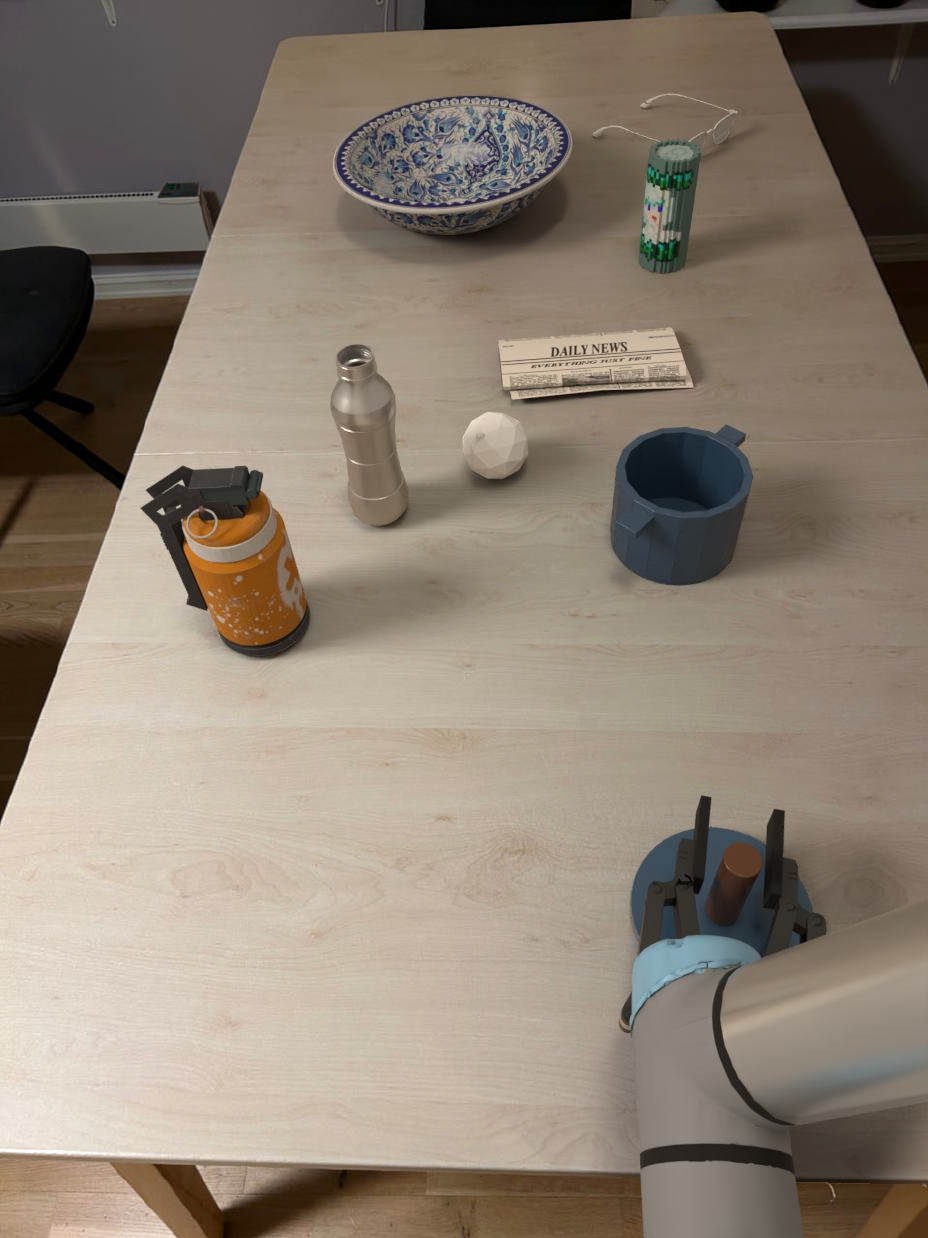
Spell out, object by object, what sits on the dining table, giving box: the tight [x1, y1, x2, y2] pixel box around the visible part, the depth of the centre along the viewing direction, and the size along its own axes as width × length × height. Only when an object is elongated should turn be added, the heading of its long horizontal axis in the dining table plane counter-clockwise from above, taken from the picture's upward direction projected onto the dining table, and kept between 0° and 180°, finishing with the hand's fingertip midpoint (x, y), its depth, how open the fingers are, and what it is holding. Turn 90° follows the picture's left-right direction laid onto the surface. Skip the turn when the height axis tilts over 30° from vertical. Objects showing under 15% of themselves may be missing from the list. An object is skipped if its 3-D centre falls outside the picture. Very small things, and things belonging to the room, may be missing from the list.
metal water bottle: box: [329, 343, 409, 527], centre depth 93 cm, size 6×7×20 cm
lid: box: [629, 826, 814, 956], centre depth 68 cm, size 14×14×10 cm
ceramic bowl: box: [332, 94, 574, 236], centre depth 136 cm, size 34×34×10 cm
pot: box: [609, 424, 754, 586], centre depth 93 cm, size 13×18×10 cm
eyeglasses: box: [592, 93, 739, 153], centre depth 150 cm, size 15×18×4 cm
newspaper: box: [497, 327, 694, 400], centre depth 114 cm, size 23×12×2 cm, turn 92°
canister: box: [139, 465, 311, 657], centre depth 84 cm, size 9×11×20 cm
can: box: [638, 138, 702, 274], centre depth 123 cm, size 6×6×15 cm
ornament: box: [461, 411, 529, 480], centre depth 101 cm, size 7×7×8 cm
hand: (739, 812), depth 69 cm, fingers open, 4 cm apart
